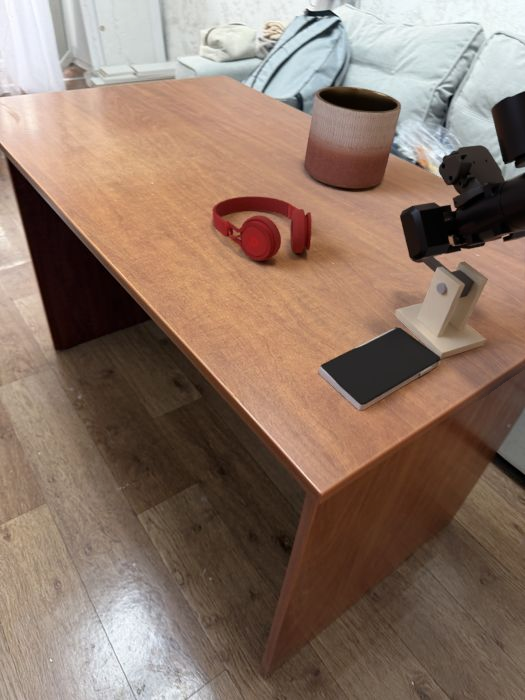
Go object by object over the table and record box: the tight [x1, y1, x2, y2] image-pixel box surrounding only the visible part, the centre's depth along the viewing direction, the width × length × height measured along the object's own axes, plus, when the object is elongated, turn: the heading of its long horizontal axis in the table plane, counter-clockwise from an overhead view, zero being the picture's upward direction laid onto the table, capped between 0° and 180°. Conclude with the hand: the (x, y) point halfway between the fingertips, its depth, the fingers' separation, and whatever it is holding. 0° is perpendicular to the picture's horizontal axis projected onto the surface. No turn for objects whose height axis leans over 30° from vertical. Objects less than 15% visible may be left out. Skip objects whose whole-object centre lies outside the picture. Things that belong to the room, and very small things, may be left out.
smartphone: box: [318, 326, 441, 411], centre depth 63 cm, size 8×1×15 cm
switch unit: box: [394, 261, 489, 360], centre depth 67 cm, size 10×8×10 cm
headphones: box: [212, 195, 312, 261], centre depth 84 cm, size 15×7×20 cm
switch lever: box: [409, 257, 474, 298], centre depth 67 cm, size 11×3×3 cm, turn 26°
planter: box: [303, 85, 402, 190], centre depth 103 cm, size 18×18×16 cm
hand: (423, 241), depth 68 cm, fingers closed, pressing on switch lever
